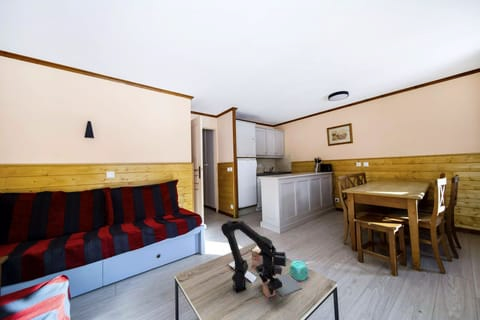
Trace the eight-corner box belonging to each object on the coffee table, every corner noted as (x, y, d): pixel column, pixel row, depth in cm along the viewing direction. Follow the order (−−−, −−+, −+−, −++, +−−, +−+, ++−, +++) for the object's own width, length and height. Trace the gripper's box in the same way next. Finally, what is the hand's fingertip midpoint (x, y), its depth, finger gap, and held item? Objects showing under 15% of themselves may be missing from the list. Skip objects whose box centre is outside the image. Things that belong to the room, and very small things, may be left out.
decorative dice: (308, 278, 109) (307, 265, 109) (299, 282, 106) (298, 269, 106) (299, 271, 116) (298, 259, 117) (289, 275, 113) (289, 262, 113)
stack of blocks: (264, 253, 141) (264, 238, 142) (272, 255, 138) (271, 240, 138) (252, 267, 123) (251, 250, 123) (260, 270, 120) (259, 252, 120)
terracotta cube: (267, 297, 94) (267, 288, 94) (262, 291, 99) (262, 282, 99) (275, 294, 96) (274, 285, 96) (270, 288, 101) (269, 280, 101)
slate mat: (281, 297, 95) (281, 295, 95) (268, 281, 108) (268, 280, 108) (301, 288, 100) (301, 287, 100) (286, 274, 113) (286, 274, 113)
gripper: (289, 268, 93) (291, 297, 92) (270, 252, 110) (271, 277, 109) (272, 274, 88) (273, 305, 88) (254, 256, 105) (256, 282, 105)
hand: (268, 291), depth 98 cm, fingers closed on terracotta cube, 5 cm apart
